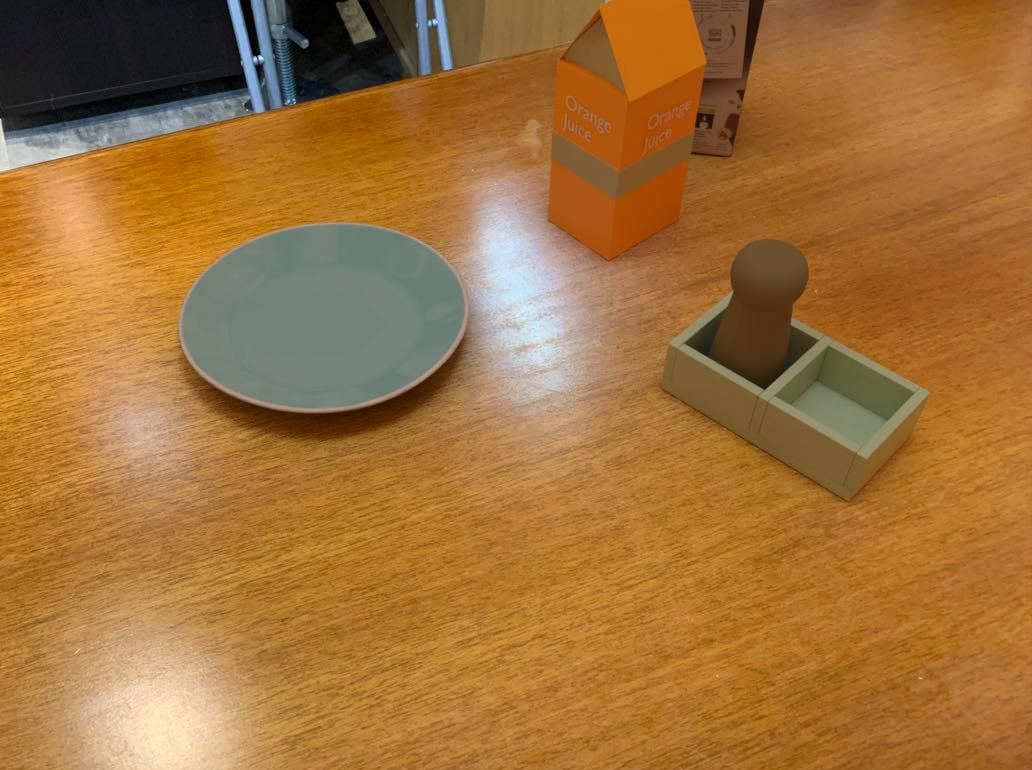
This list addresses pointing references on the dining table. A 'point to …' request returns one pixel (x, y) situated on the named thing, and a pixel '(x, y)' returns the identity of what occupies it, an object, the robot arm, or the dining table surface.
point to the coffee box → (723, 69)
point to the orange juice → (625, 123)
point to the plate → (323, 317)
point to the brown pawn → (760, 311)
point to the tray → (802, 403)
